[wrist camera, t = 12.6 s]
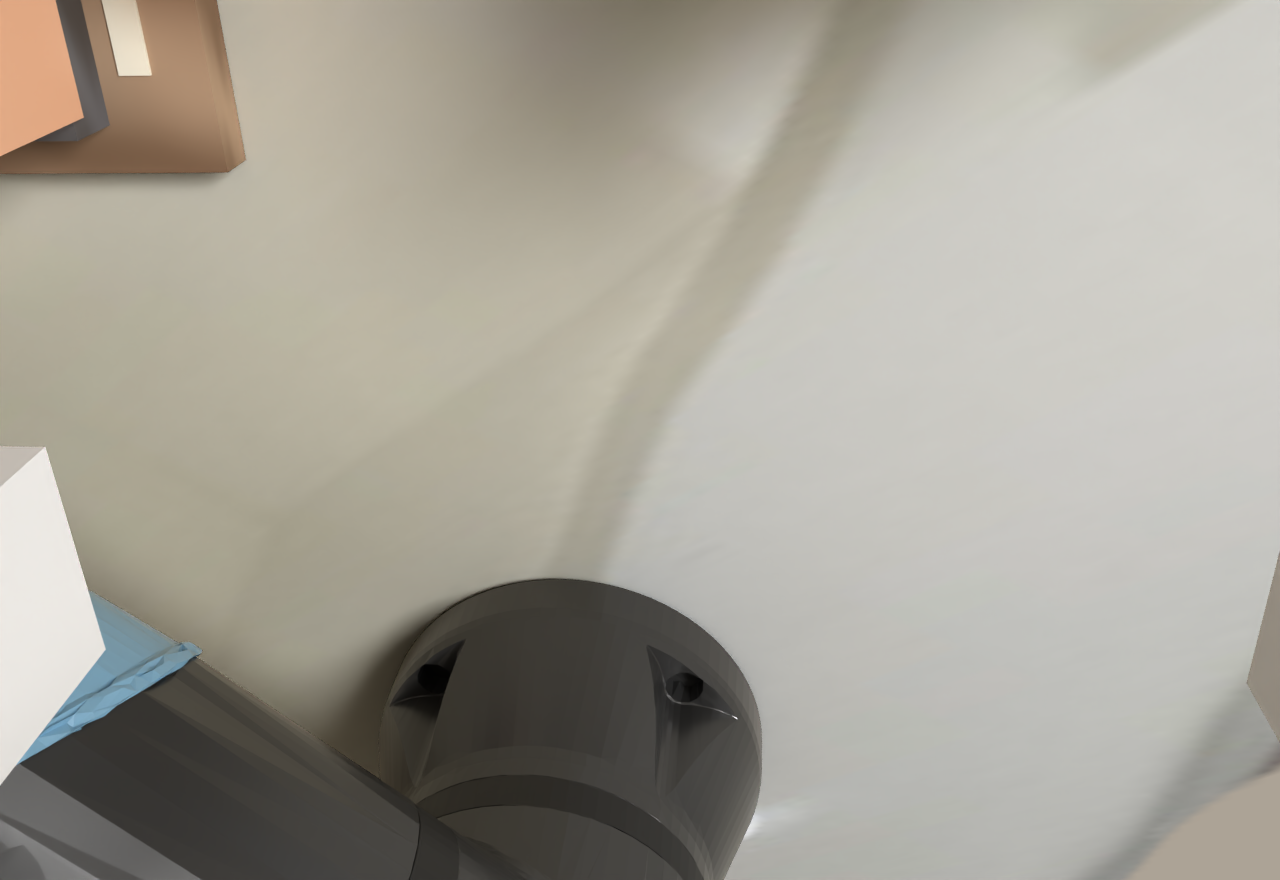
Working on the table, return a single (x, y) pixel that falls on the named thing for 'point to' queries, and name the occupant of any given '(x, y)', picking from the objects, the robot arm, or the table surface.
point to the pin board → (142, 92)
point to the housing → (34, 73)
